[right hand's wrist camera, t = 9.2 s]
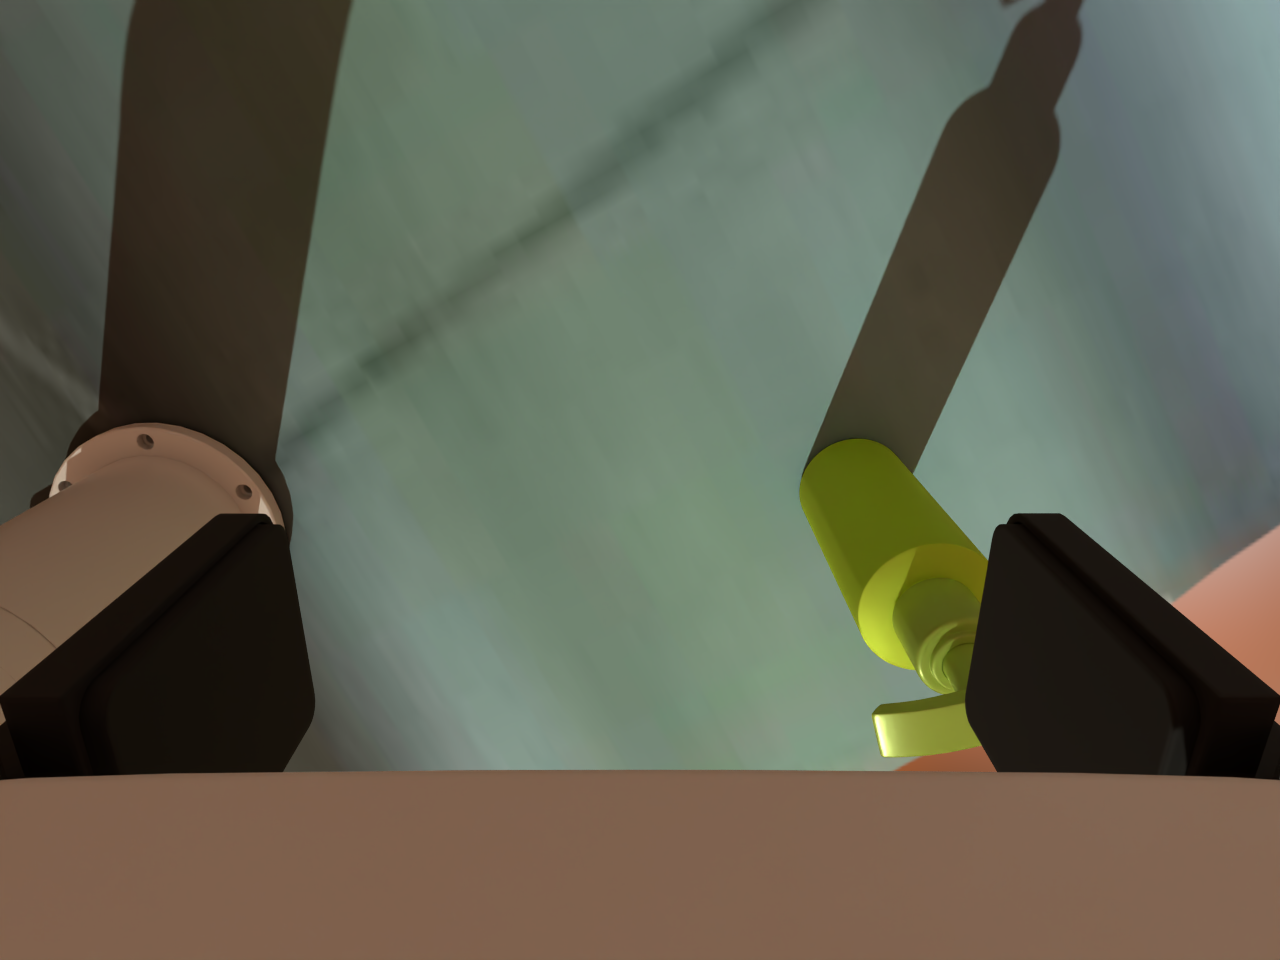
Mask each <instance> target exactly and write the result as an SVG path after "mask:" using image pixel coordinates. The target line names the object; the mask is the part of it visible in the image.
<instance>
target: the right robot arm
mask: <svg viewBox="0 0 1280 960" xmlns="http://www.w3.org/2000/svg"><path fill="white" fill-rule="evenodd" d="M247 486H248V487H249V488H250V489H249V488H248V487H247ZM1279 705H1280V695H1279V694H1277V693H1276V692H1275V691H1274V690H1273V689H1271V688H1270V687H1269V686H1268V685H1267V684H1265V683H1264V682H1263V681H1262V680H1261V679H1259V678H1258V677H1257V676H1256V675H1255V674H1253V673H1252V672H1251V671H1250V670H1249V669H1247V668H1246V667H1245V666H1244V665H1243V664H1241V663H1240V662H1239V661H1238V660H1237V659H1235V658H1234V657H1233V656H1232V655H1231V654H1229V653H1228V652H1227V651H1226V650H1225V649H1223V648H1222V647H1221V646H1220V645H1219V644H1217V643H1216V642H1215V641H1214V640H1213V639H1211V638H1210V637H1209V636H1208V635H1207V634H1205V633H1204V632H1203V631H1202V630H1201V629H1199V628H1198V627H1197V626H1196V625H1195V624H1193V623H1192V622H1191V621H1190V620H1189V619H1187V618H1186V617H1185V616H1184V615H1183V614H1181V613H1180V612H1179V611H1178V610H1177V609H1175V608H1174V607H1173V606H1172V605H1171V604H1170V603H1168V602H1167V601H1166V600H1165V599H1164V598H1162V597H1161V596H1160V595H1159V594H1158V593H1156V592H1155V591H1154V590H1153V589H1152V588H1150V587H1149V586H1148V585H1147V584H1146V583H1144V582H1143V581H1142V580H1141V579H1140V578H1138V577H1137V576H1136V575H1135V574H1134V573H1132V572H1131V571H1130V570H1129V569H1128V568H1126V567H1125V566H1124V565H1123V564H1122V563H1120V562H1119V561H1118V560H1117V559H1116V558H1114V557H1113V556H1112V555H1111V554H1110V553H1108V552H1107V551H1106V550H1105V549H1104V548H1102V547H1101V546H1100V545H1099V544H1098V543H1096V542H1095V541H1094V540H1093V539H1092V538H1090V537H1089V536H1088V535H1087V534H1086V533H1084V532H1083V531H1082V530H1081V529H1080V528H1078V527H1077V526H1076V525H1075V524H1074V523H1072V522H1071V521H1070V520H1069V519H1068V518H1066V517H1065V516H1064V515H1062V514H1060V513H1018V514H1014V515H1012V516H1011V517H1010V518H1009V520H1008V522H1007V524H1000V525H998V526H997V527H996V529H995V531H994V534H993V537H992V543H991V549H990V554H989V560H988V566H987V572H986V578H985V583H984V589H983V595H982V601H981V607H980V612H979V618H978V624H977V630H976V636H975V641H974V647H973V653H972V659H971V665H970V670H969V676H968V682H967V688H966V694H965V710H966V715H967V719H968V722H969V724H970V726H971V728H972V730H973V731H974V733H975V735H976V736H977V738H978V740H979V742H980V743H981V745H982V747H983V748H984V750H985V752H986V753H987V755H988V757H989V759H990V760H991V762H992V764H993V765H994V767H995V769H996V771H997V772H910V771H795V770H451V771H359V772H283V771H284V769H285V767H286V765H287V764H288V762H289V760H290V759H291V757H292V755H293V753H294V752H295V750H296V748H297V747H298V745H299V743H300V742H301V740H302V738H303V736H304V735H305V733H306V731H307V730H308V728H309V726H310V724H311V722H312V719H313V715H314V710H315V694H314V688H313V682H312V676H311V670H310V665H309V659H308V653H307V647H306V641H305V636H304V630H303V624H302V618H301V612H300V607H299V601H298V595H297V589H296V583H295V578H294V572H293V566H292V560H291V554H290V549H289V543H288V537H287V534H286V531H285V527H284V523H283V519H282V515H281V512H280V510H279V507H278V505H277V503H276V501H275V499H274V497H273V495H272V493H271V491H270V490H269V488H268V487H267V486H266V484H265V483H264V481H263V480H262V478H261V477H260V476H259V474H258V473H257V472H256V471H255V470H254V469H253V468H252V467H251V466H250V465H249V464H248V463H247V462H246V461H245V460H244V459H243V458H241V457H240V456H239V455H237V454H236V453H235V452H233V451H232V450H231V449H229V448H228V447H226V446H225V445H224V444H222V443H220V442H218V441H216V440H214V439H212V438H210V437H208V436H206V435H204V434H202V433H199V432H196V431H193V430H190V429H187V428H184V427H181V426H175V425H169V424H163V423H134V424H129V425H125V426H120V427H116V428H113V429H111V430H108V431H106V432H104V433H102V434H99V435H97V436H95V437H93V438H92V439H90V440H88V441H87V442H85V443H83V444H82V445H80V446H78V447H77V448H76V449H75V450H74V451H73V452H72V453H71V454H70V455H69V456H68V457H67V458H66V459H65V460H64V462H63V464H62V465H61V467H60V469H59V470H58V472H57V474H56V475H55V478H54V481H53V484H52V487H51V491H50V494H49V498H48V499H46V500H44V501H43V502H41V503H39V504H37V505H36V506H34V507H32V508H30V509H29V510H27V511H25V512H23V513H22V514H20V515H18V516H16V517H15V518H13V519H11V520H9V521H7V522H6V523H4V524H2V525H0V960H1280V725H1279V724H1277V723H1276V722H1275V721H1274V720H1275V717H1276V714H1277V711H1278V708H1279Z"/></svg>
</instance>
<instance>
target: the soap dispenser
mask: <svg viewBox="0 0 1280 960" xmlns="http://www.w3.org/2000/svg"><path fill="white" fill-rule="evenodd" d="M800 502H801V506H802V509H803V511H804V513H805V515H806V517H807V520H808V522H809V524H810V526H811V528H812V530H813V532H814V534H815V537H816V539H817V541H818V543H819V545H820V547H821V549H822V552H823V554H824V556H825V558H826V560H827V562H828V564H829V567H830V569H831V571H832V573H833V575H834V577H835V579H836V581H837V584H838V586H839V588H840V590H841V592H842V594H843V596H844V599H845V601H846V603H847V605H848V607H849V609H850V611H851V614H852V616H853V618H854V620H855V622H856V624H857V626H858V628H859V631H860V633H861V635H862V637H863V639H864V641H865V642H866V644H867V645H868V647H869V648H870V649H871V650H872V651H873V652H874V653H875V654H876V655H877V656H879V657H880V658H881V659H883V660H884V661H886V662H888V663H890V664H892V665H895V666H898V667H901V668H905V669H911V670H916V672H917V674H918V675H919V677H920V678H921V680H922V681H923V682H924V683H925V684H926V685H927V686H928V687H929V688H930V689H932V690H934V691H936V692H938V693H941V694H944V695H940V696H936V697H931V698H926V699H921V700H915V701H908V702H900V703H889V704H882V705H880V706H878V707H877V708H876V709H875V711H874V712H873V713H872V719H873V724H874V728H875V733H876V737H877V741H878V745H879V750H880V754H881V756H882V757H911V756H924V755H934V754H941V753H948V752H953V751H959V750H963V749H968V748H973V747H977V746H980V745H981V743H980V742H979V740H978V738H977V736H976V735H975V733H974V731H973V730H972V728H971V726H970V724H969V722H968V719H967V715H966V710H965V694H966V688H967V682H968V676H969V670H970V665H971V659H972V653H973V647H974V641H975V636H976V630H977V624H978V618H979V612H980V607H981V601H982V595H983V589H984V583H985V578H986V572H987V566H988V560H987V559H986V558H985V557H984V556H983V554H982V553H981V552H980V551H979V550H978V549H977V548H976V546H975V545H974V544H973V543H972V542H971V541H970V539H969V538H968V537H967V536H966V535H965V534H964V533H963V531H962V530H961V529H960V528H959V527H958V526H957V525H956V523H955V522H954V521H953V520H952V519H951V518H950V517H949V515H948V514H947V513H946V512H945V511H944V510H943V509H942V507H941V506H940V505H939V504H938V503H937V502H936V501H935V499H934V498H933V497H932V496H931V495H930V494H929V493H928V491H927V490H926V489H925V488H924V487H923V486H922V484H921V483H920V482H919V481H918V480H917V479H916V478H915V476H914V475H913V474H912V473H911V472H910V471H909V470H908V468H907V467H906V466H905V465H904V464H903V463H902V462H901V460H900V459H899V458H898V457H897V456H896V455H895V454H894V453H893V452H892V451H891V450H890V449H889V448H887V447H886V446H884V445H882V444H880V443H878V442H875V441H872V440H867V439H848V440H843V441H840V442H837V443H834V444H832V445H830V446H828V447H827V448H825V449H824V450H822V451H821V452H820V453H818V454H817V455H816V456H815V457H814V458H813V459H812V461H811V462H810V463H809V465H808V466H807V468H806V470H805V471H804V474H803V476H802V479H801V483H800Z"/></svg>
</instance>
